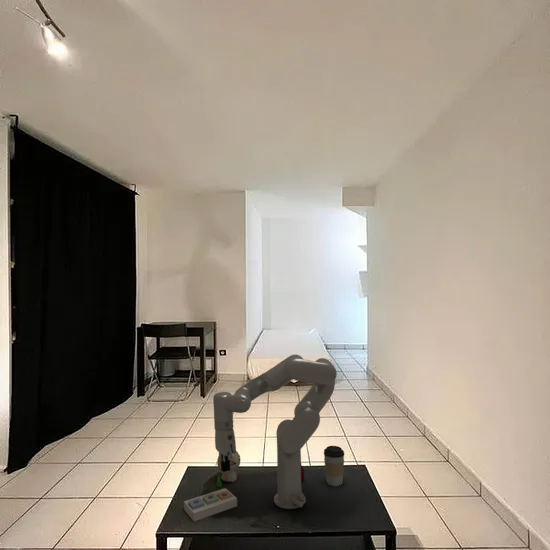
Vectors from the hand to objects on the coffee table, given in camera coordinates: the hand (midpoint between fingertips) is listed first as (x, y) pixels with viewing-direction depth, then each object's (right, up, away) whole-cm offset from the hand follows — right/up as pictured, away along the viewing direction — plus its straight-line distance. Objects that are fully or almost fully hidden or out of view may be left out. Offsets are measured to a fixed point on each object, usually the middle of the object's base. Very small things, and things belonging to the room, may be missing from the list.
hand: (225, 470), depth 160 cm
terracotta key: (0, -12, 0) cm, 12 cm away
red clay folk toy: (+29, -13, +17) cm, 36 cm away
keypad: (-5, -13, -4) cm, 14 cm away
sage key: (-5, -11, -4) cm, 13 cm away
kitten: (-1, -14, +18) cm, 23 cm away
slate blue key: (-10, -11, -7) cm, 17 cm away
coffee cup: (+46, -13, +15) cm, 50 cm away
